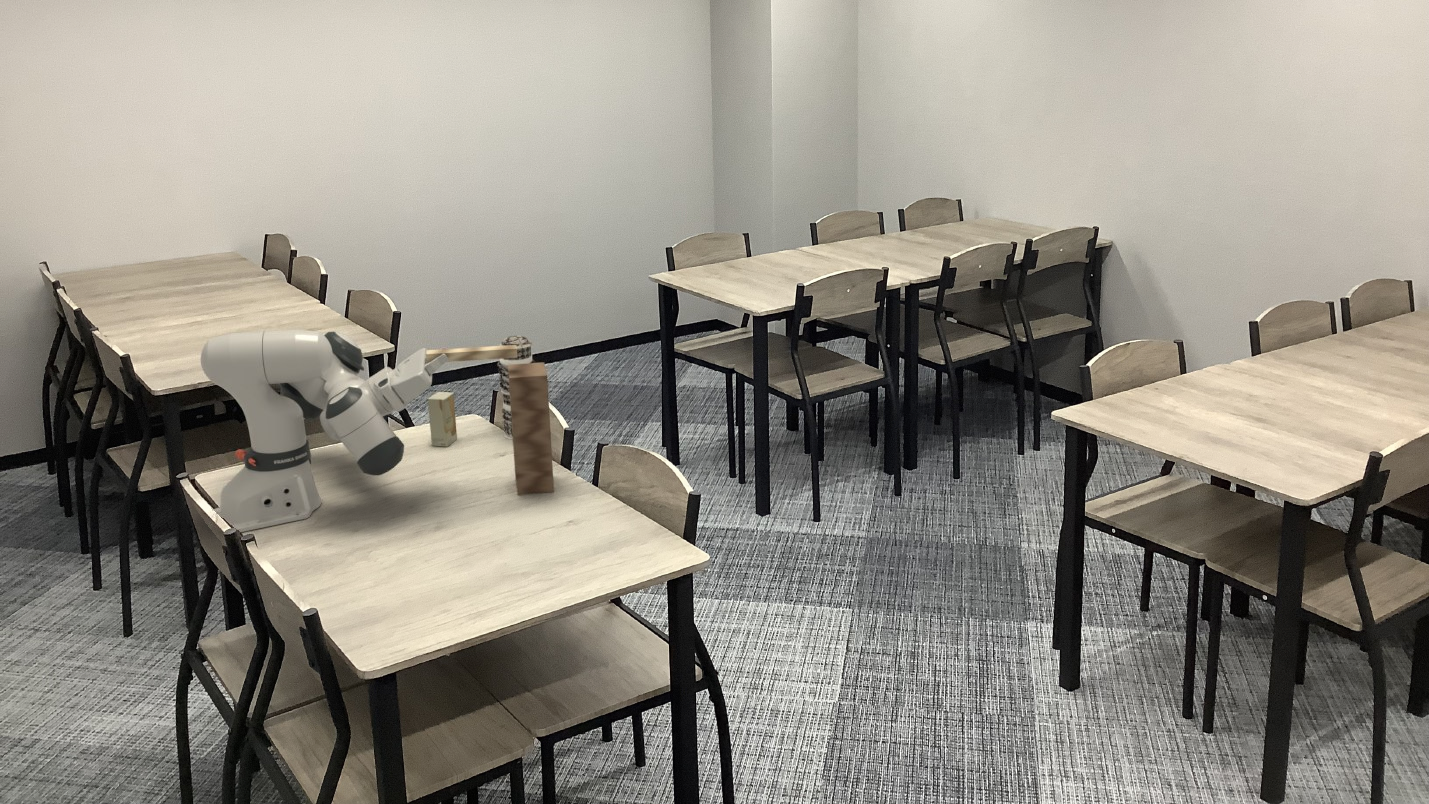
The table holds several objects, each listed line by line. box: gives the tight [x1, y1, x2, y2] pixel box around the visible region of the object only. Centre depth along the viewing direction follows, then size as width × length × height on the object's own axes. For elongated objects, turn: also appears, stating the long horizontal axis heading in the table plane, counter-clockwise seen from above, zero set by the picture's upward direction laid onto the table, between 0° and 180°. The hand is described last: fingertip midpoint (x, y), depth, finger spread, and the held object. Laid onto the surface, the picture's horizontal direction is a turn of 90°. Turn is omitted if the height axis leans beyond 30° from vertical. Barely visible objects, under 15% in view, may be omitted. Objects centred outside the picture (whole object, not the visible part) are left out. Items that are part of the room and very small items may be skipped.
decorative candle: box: [496, 335, 536, 441], centre depth 297 cm, size 9×9×25 cm
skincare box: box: [427, 391, 458, 448], centre depth 294 cm, size 6×4×12 cm
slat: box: [426, 345, 518, 363], centre depth 257 cm, size 19×3×2 cm, turn 101°
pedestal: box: [508, 361, 555, 496], centre depth 265 cm, size 8×10×27 cm
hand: (446, 353), depth 256 cm, fingers closed on slat, 3 cm apart
